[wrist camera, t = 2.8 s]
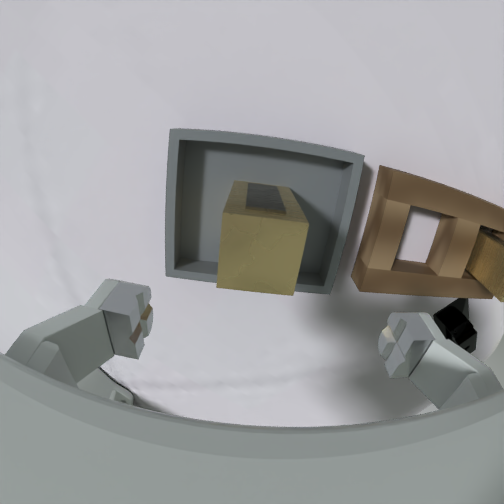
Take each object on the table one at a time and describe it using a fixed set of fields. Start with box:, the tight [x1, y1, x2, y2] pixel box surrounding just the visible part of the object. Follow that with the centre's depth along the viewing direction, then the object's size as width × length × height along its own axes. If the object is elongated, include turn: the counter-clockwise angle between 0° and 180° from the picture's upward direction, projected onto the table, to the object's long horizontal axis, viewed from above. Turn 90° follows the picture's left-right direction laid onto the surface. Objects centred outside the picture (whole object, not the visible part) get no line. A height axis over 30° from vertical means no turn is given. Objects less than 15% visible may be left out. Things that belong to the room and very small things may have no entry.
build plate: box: [433, 298, 477, 353], centre depth 26 cm, size 12×7×5 cm, turn 31°
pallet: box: [351, 165, 504, 299], centre depth 21 cm, size 10×19×2 cm, turn 83°
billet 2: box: [465, 228, 504, 302], centre depth 19 cm, size 4×4×8 cm
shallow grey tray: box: [165, 128, 365, 294], centre depth 20 cm, size 11×13×2 cm
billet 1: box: [216, 180, 309, 296], centre depth 17 cm, size 4×4×8 cm
